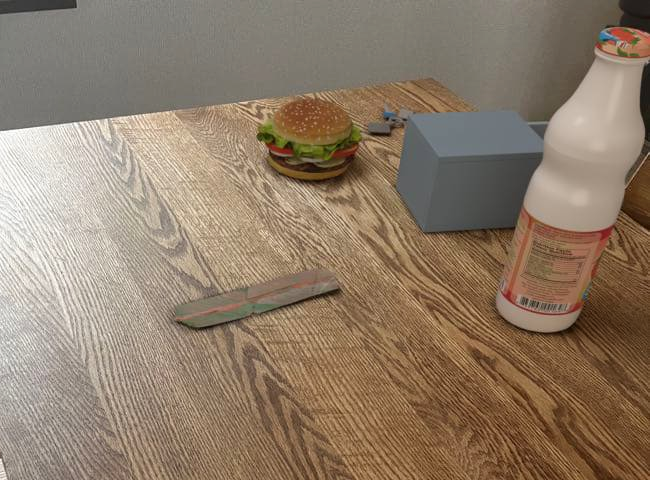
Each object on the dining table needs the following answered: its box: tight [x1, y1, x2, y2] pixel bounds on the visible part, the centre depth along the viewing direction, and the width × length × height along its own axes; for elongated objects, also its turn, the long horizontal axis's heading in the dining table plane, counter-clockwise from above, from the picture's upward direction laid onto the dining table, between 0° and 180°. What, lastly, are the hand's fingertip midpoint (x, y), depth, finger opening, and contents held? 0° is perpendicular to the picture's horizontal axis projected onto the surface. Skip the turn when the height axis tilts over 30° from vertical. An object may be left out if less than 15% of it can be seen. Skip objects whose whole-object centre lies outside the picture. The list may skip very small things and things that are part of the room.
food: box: [256, 97, 363, 181], centre depth 114 cm, size 14×14×8 cm
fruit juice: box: [495, 27, 650, 333], centre depth 83 cm, size 9×9×28 cm
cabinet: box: [395, 109, 544, 233], centre depth 106 cm, size 15×13×10 cm
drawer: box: [525, 120, 634, 173], centre depth 108 cm, size 19×11×8 cm, turn 100°
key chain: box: [367, 103, 415, 134], centre depth 127 cm, size 14×8×1 cm, turn 124°
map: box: [173, 267, 340, 328], centre depth 93 cm, size 5×20×1 cm, turn 118°
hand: (591, 179), depth 110 cm, fingers closed
